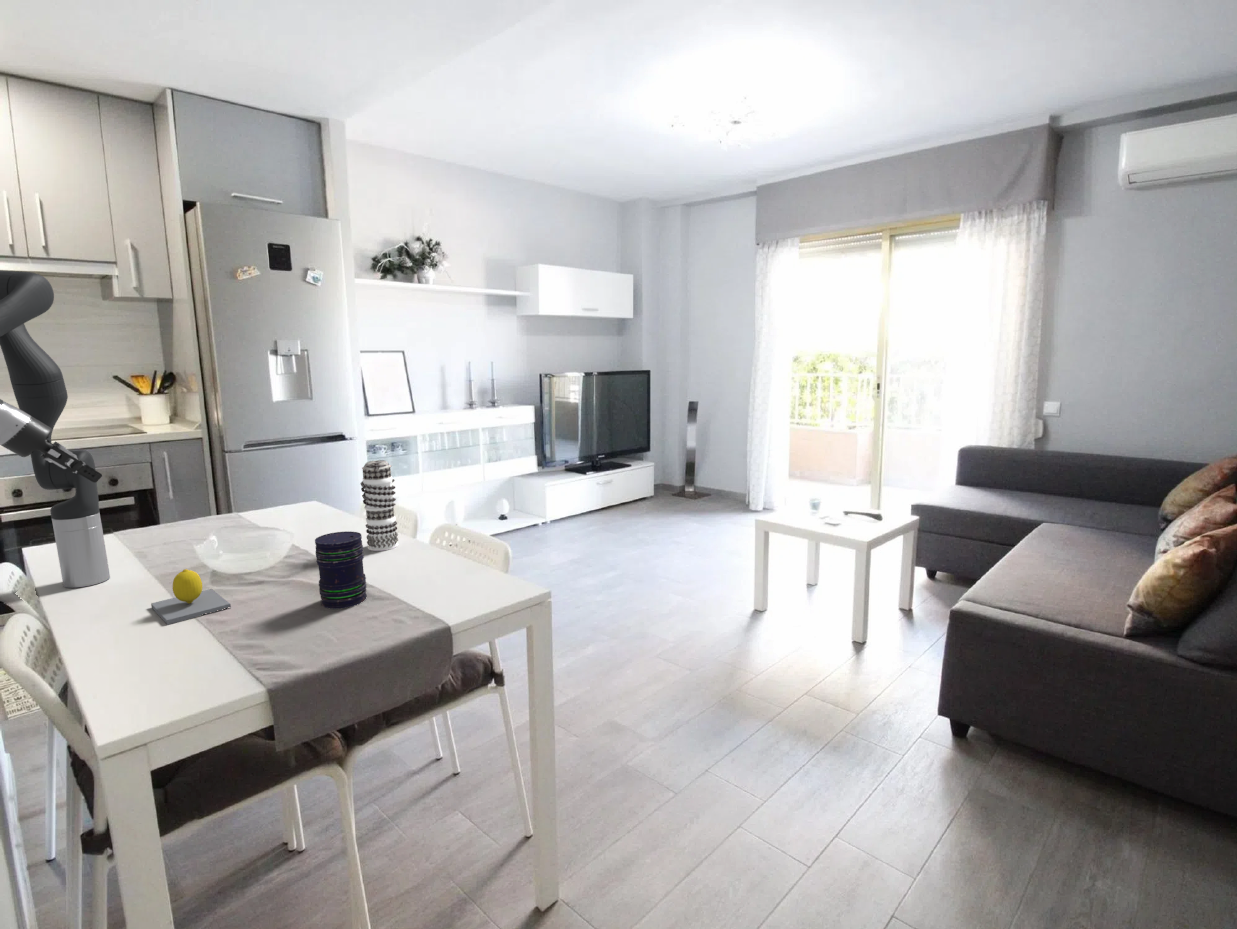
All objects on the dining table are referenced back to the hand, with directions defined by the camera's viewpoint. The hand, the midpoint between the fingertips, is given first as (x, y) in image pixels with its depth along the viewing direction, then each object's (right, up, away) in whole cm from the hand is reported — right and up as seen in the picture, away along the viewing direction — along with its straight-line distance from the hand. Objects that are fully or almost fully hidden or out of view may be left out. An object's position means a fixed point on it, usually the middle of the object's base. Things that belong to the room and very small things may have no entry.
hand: (95, 476), depth 141 cm
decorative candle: (+44, -21, +49) cm, 70 cm away
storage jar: (+50, -29, +8) cm, 58 cm away
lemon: (+17, -29, +5) cm, 34 cm away
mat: (+17, -29, +5) cm, 35 cm away
